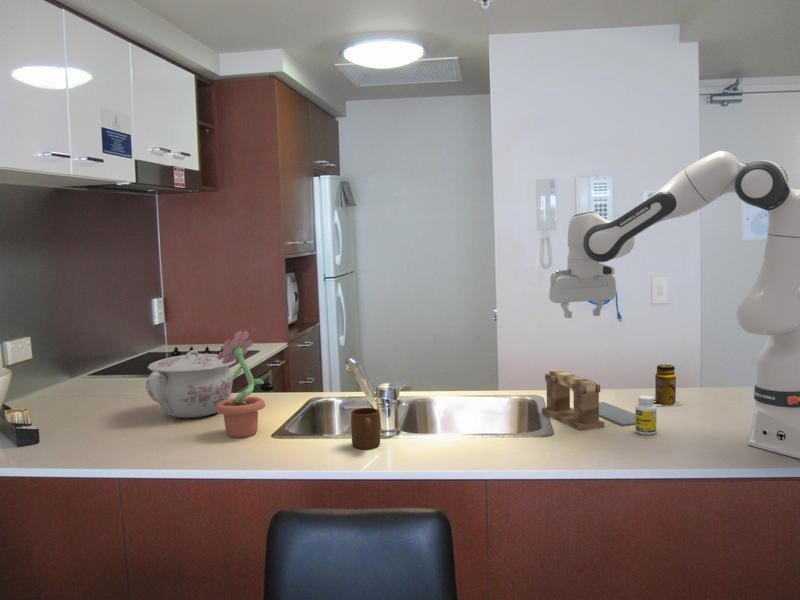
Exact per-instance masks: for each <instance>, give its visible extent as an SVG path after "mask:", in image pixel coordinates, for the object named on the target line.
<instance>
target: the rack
mask: <svg viewBox="0 0 800 600" xmlns="http://www.w3.org/2000/svg"><path fill="white" fill-rule="evenodd" d="M544 381H545V383H546V407H541V414H543V413H544V414H543V415H545V414H546V415H545V416H547V415H548V417H549V418H552V419H554V420H556V421H558V422H561V423H563V424H565V425H567V426H569V427H571V428H574V429H576V430H577V431H587V430H592V429H599V428H605V424H606V423H605V421H604V420H601V419H600V417H599V402H600V395H599V394H600V393H601V384H598V383H596V393H589V394H586V393H585V387H584V386H581V385H578V384H575V383H574V384H572V388H569V387H567V386H564V385H561V384H558V383H557V378H556V377H555V376H553V375H550V374H549V373H545V374H544ZM570 390H571V391H572V393H573V394H572V395H573V408H572V407H571V391H570Z"/></svg>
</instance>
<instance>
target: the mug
mask: <svg viewBox="0 0 800 600" xmlns="http://www.w3.org/2000/svg"><path fill="white" fill-rule="evenodd" d="M380 418H381V417H380V411H379V409H377V408H373V407H361V408H355V409H353V410H351V413H350V425H351V426H350V427H351V428H350V429H351V430H350V431H351V444H352V447H353V448H355V449H357V450H372V449H375V448H378V447H379V446H380V445H381V423H380V421H381V420H380Z"/></svg>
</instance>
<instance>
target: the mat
mask: <svg viewBox="0 0 800 600" xmlns="http://www.w3.org/2000/svg"><path fill="white" fill-rule="evenodd" d="M599 418H602V419H604V420H606V421H608V422H611V423H614V424H616V425H619V426H621V427H628V426H635V423H636V413H635V412H632V411H628V410H627V409H624V408H620V407H618V406H616V405H613V404H610V403H608V402H604V401H599Z"/></svg>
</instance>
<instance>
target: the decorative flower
mask: <svg viewBox="0 0 800 600" xmlns="http://www.w3.org/2000/svg"><path fill="white" fill-rule="evenodd" d="M249 335H250V333H249V332H248V331H247V330H245V331H244V332H243V331H238V332H236V333H235V334H234V336H233V339H232V340H231V339H227V340H225V342H224V344H223V345H222V348H221V349H222V351H219V353H218V359H219V360H220V359H222V358H224V357H225V358H224V359H223V361H222V363H223V364H225V363H229V362H233V361H234V360H235V359H236V360H237V362H238V364H239V365H240V366H239V367H238V368H237V369H236V370H235V371H234V373H232V379H235V378H237V377H238V376H239V375H240V374H241V372H242V371H243V374H244V375H245V377H246V381H247V388H246V389H245V390H243V391H241V392H240V393H239V394H237V396H236V397H232V398H231V397H230V398H229V399H226V400H223V401H221V402H219V403H217V404H216V407H215V411H216V412H217V413H216V414H221V415H223V420H224V427H225V433H226V436H228V437H230V438H234V439H235V438H238V439H240V438H247V437H252V436H254V435H255V434H256V433H257V432H258V429H259V428H258V427H259V414H258V412H259V411H260V410H263V409H264V408H265V407H266V402H265V401H264V399H262V398H261V397H256V396H249V395H251V394H252V393H253V391H254V389H255V388H254V387H255V384H257V385H264V384H265V382H264V380H263V379H261V378H254V376H253V373H252V372H251V370H250V367H249V365H248V364H247V362H246V359H245V358H244V356H245V355H247V353H248V348H250V347H252V346H253V340H252V339H249V340H247V339H248V338H249ZM246 340H247V341H246Z"/></svg>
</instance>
